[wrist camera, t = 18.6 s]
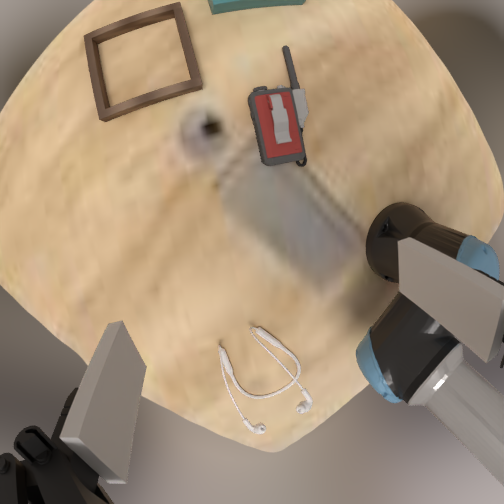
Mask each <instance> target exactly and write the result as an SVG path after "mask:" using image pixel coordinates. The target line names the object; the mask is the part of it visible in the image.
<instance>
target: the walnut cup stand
mask: <svg viewBox="0 0 504 504" xmlns="http://www.w3.org/2000/svg"><path fill="white" fill-rule="evenodd" d="M174 17H175V20H176V24H177V28H178V32H179V35H180V39H181V43H182V47H183V51H184V54H185V58H186V62H187V66H188V69H189V73H190V77H191V80H188V81H184V82H181V83H177V84H174V85H171V86H168V87H164V88H161V89H158V90H155V91H152V92H149V93H146V94H143V95H141V96H138V97H135V98H132V99H130V100H127V101H124V102H122V103H119V104H117V105H114V106H112V107H110V106H109V101H108V97H107V92H106V88H105V83H104V78H103V73H102V68H101V63H100V57H99V51H98V45H97V44H99V43H101V42H104V41H106V40H109V39H111V38H114V37H116V36H119V35H121V34H124V33H127V32H129V31H132V30H135V29H138V28H141V27H144V26H147V25H150V24H153V23H157V22H160V21H164V20H167V19H171V18H174ZM84 41H85V48H86V54H87V60H88V66H89V72H90V77H91V83H92V88H93V93H94V97H95V102H96V107H97V111H98V115H99V120H102V121H104V122H107V121H109V120H112V119H114V118H117V117H119V116H122V115H124V114H127V113H130V112H132V111H135V110H138V109H140V108H143V107H146V106H149V105H152V104H155V103H158V102H161V101H164V100H167V99H170V98H173V97H177V96H180V95H183V94H187V93H190V92H194V91H198V90H201V89H202V81H201V78H200V74H199V70H198V67H197V63H196V59H195V56H194V52H193V48H192V44H191V41H190V37H189V33H188V30H187V26H186V22H185V19H184V15H183V11H182V8H181V4H180V2H177V3H174V4H170V5H166V6H162V7H159V8H155V9H152V10H149V11H146V12H143V13H139V14H136V15H134V16H131V17H128V18H125V19H122V20H120V21H117V22H114V23H112V24H109V25H107V26H104V27H102V28H100V29H97V30H95V31H93V32H91V33H88V34H86V35H84Z"/></svg>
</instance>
